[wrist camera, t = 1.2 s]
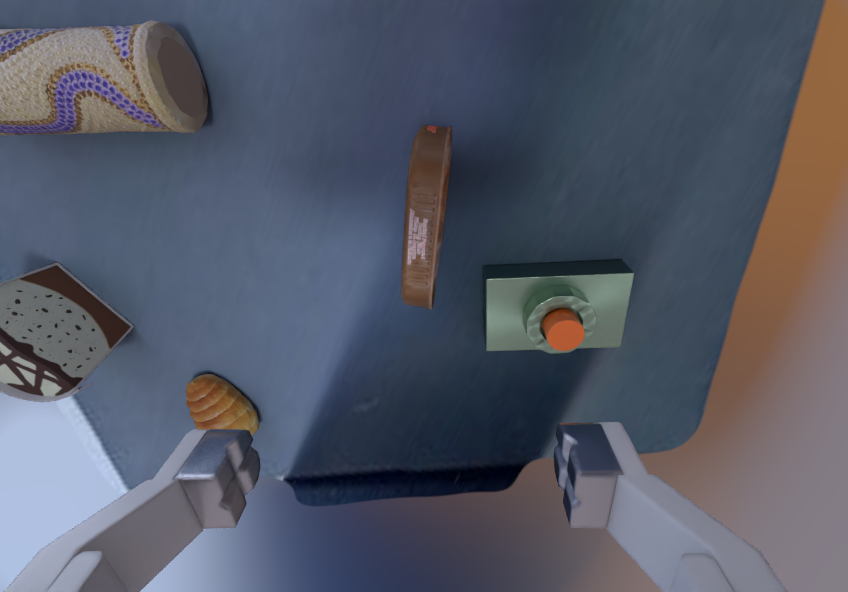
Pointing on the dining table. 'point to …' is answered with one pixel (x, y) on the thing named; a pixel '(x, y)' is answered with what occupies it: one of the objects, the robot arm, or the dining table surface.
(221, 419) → the pastry
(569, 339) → the button
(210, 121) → the dining table surface
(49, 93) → the decorative bottle
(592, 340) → the console
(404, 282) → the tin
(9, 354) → the grey brown rounded block
